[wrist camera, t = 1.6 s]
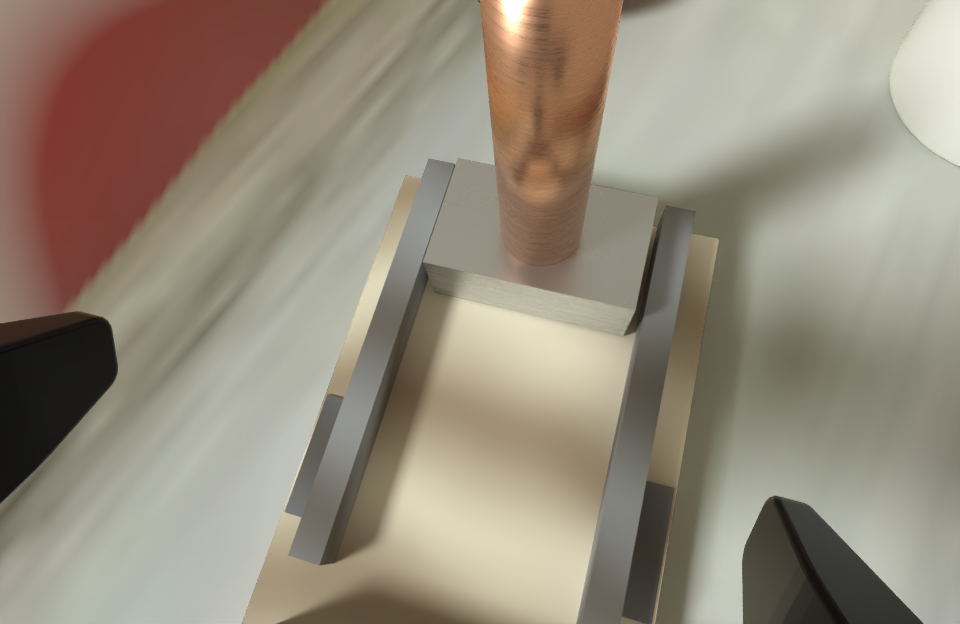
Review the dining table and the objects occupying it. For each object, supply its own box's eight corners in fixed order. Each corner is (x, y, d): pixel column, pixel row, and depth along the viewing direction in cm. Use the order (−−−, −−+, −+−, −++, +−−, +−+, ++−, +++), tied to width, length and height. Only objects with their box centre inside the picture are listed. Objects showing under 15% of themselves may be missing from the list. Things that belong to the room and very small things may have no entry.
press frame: (610, 823, 18) (635, 914, 13) (236, 687, 19) (156, 729, 15) (707, 256, 23) (746, 195, 19) (412, 195, 25) (389, 126, 21)
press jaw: (622, 336, 21) (746, 77, 9) (434, 292, 22) (325, 9, 10) (644, 234, 22) (776, -110, 10) (465, 197, 23) (399, -152, 11)
